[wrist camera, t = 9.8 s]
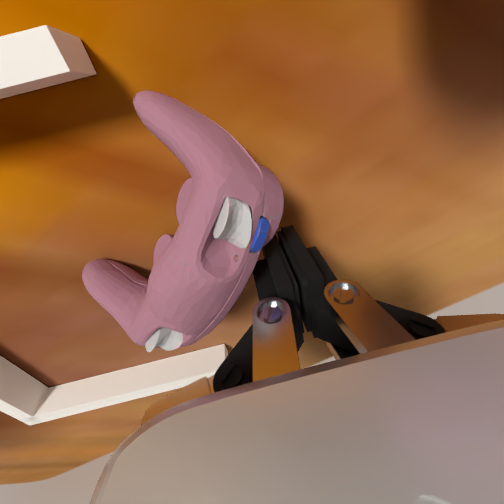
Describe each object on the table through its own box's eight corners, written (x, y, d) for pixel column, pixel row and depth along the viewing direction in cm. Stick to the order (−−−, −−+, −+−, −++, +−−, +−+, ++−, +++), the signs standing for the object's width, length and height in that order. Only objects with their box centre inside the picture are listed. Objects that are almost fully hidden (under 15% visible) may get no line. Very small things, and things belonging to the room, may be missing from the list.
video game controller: (161, 271, 16) (203, 371, 12) (76, 270, 12) (95, 408, 9) (233, 125, 12) (334, 205, 8) (133, 65, 8) (221, 154, 4)
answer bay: (79, 37, 8) (46, 24, 6) (227, 350, 19) (229, 375, 17) (-351, 148, 8) (-493, 163, 6) (45, 396, 19) (29, 425, 17)
